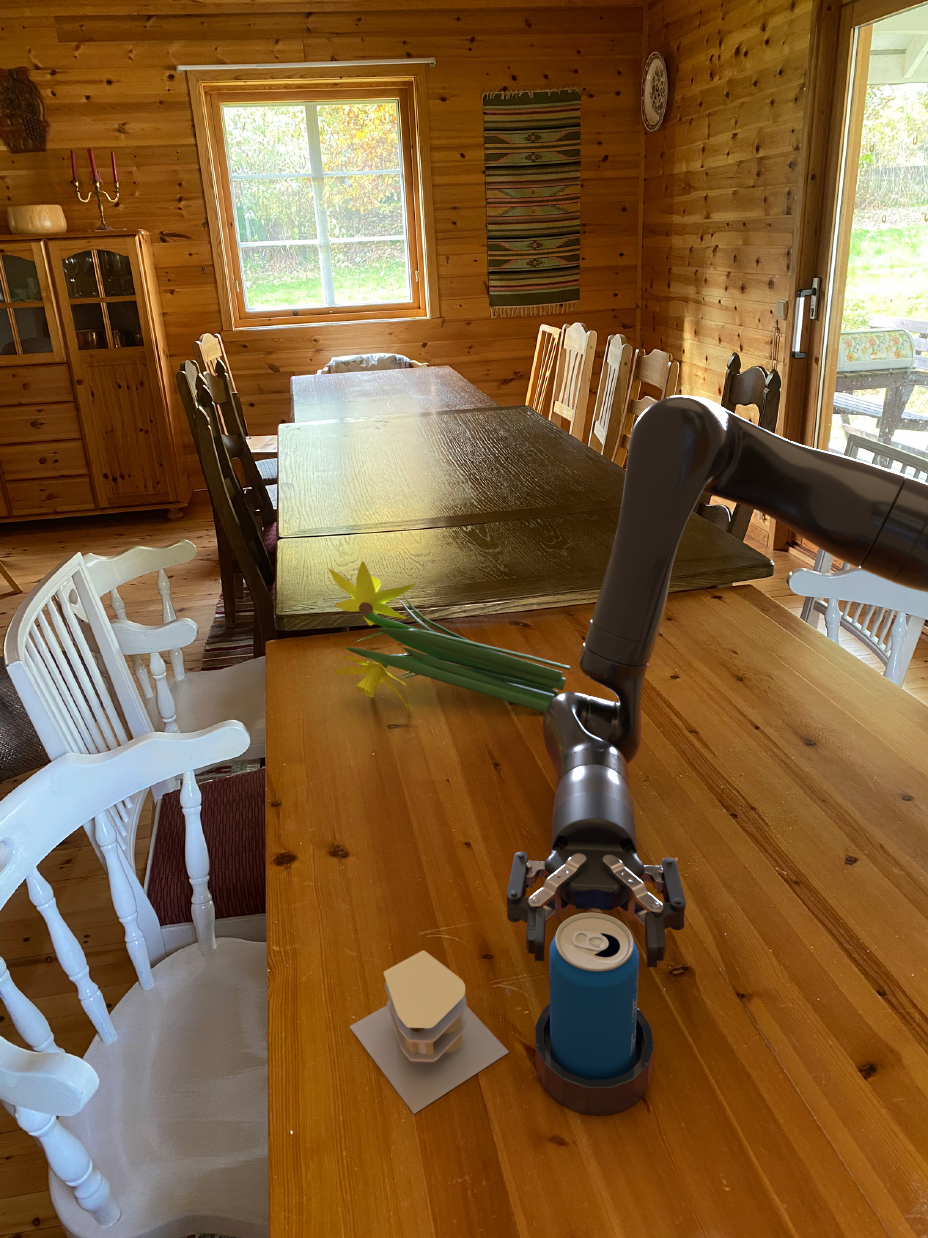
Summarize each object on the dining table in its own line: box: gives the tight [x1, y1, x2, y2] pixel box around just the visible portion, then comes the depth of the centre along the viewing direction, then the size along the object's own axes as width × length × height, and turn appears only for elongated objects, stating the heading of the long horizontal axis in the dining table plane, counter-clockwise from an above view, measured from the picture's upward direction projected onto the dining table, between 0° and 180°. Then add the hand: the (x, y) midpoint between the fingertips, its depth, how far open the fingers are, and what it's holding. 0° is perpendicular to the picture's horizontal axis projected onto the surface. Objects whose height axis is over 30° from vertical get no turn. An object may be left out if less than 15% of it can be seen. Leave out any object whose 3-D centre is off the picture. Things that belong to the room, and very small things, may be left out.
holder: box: [534, 1003, 656, 1117], centre depth 71 cm, size 9×9×3 cm
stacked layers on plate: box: [349, 950, 510, 1115], centre depth 73 cm, size 10×9×6 cm
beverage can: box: [548, 912, 640, 1080], centre depth 69 cm, size 6×6×12 cm
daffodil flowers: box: [327, 561, 571, 714], centre depth 122 cm, size 17×15×35 cm
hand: (595, 956), depth 69 cm, fingers open, 8 cm apart
